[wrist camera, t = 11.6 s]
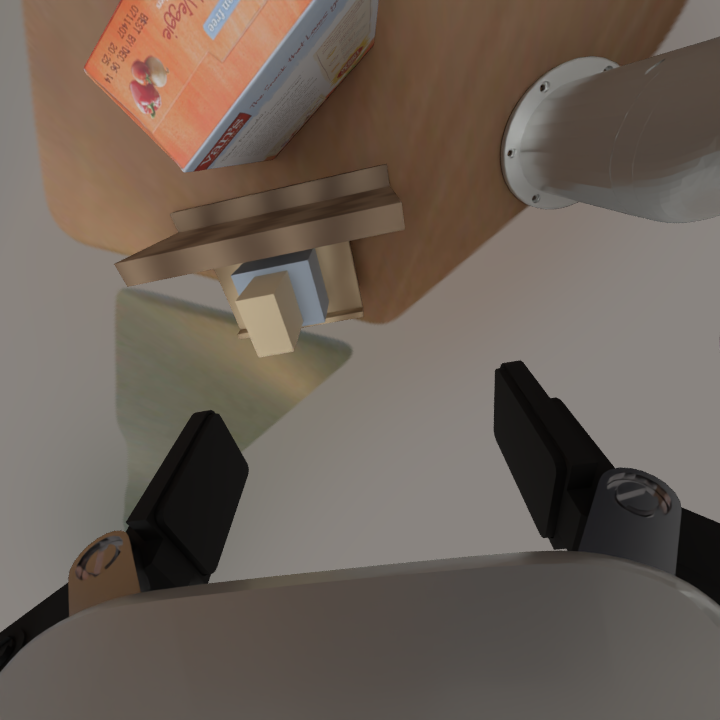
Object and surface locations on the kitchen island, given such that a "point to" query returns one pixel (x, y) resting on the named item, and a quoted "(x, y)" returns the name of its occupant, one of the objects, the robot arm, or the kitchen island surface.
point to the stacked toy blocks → (280, 299)
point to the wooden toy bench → (278, 235)
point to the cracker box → (228, 70)
